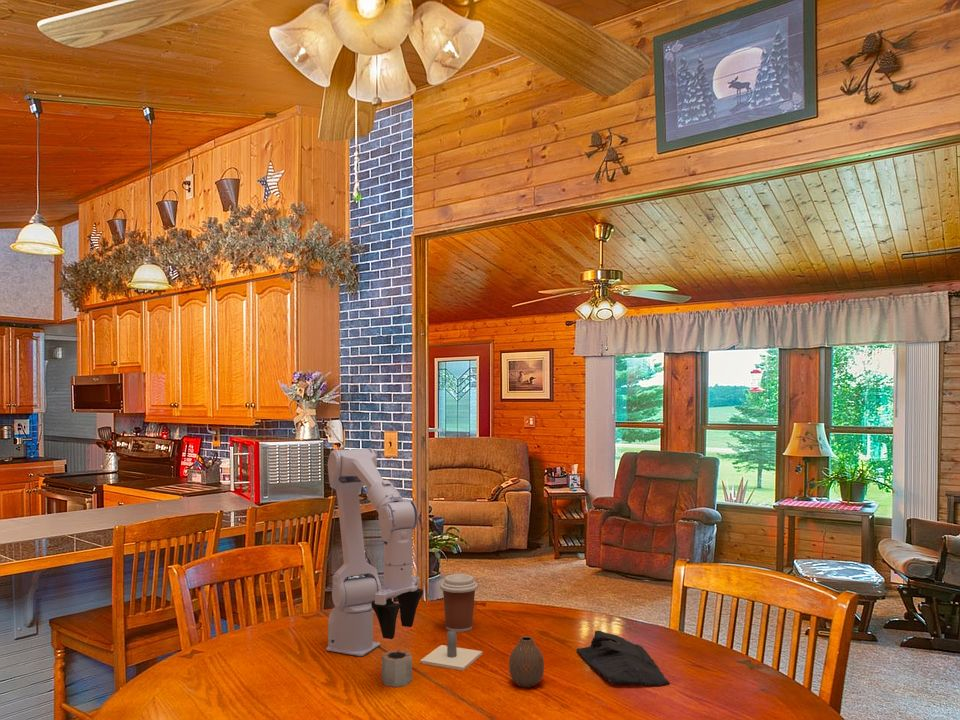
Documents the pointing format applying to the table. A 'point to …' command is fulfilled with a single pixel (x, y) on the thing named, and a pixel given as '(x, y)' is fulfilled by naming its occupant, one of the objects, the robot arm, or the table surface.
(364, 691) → the table surface
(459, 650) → the post stand
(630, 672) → the crumpled black cloth
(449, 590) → the coffee cup
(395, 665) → the collar
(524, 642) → the vase
